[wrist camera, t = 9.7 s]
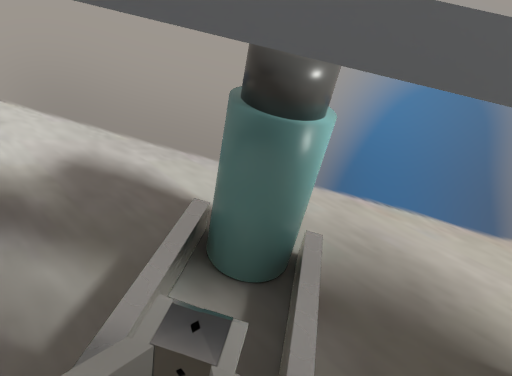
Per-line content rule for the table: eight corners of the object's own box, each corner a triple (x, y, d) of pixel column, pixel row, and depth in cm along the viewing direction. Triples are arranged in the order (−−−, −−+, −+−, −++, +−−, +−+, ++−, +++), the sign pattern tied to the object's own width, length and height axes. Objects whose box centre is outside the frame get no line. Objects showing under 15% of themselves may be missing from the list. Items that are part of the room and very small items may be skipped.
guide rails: (312, 260, 25) (322, 235, 23) (290, 503, 13) (307, 479, 12) (191, 224, 25) (194, 198, 24) (63, 422, 14) (55, 391, 12)
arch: (554, 391, 19) (911, 112, 10) (600, 475, 16) (1189, 168, 7) (-42, 206, 22) (-158, -127, 14) (-110, 244, 19) (-324, -169, 10)
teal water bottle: (293, 236, 26) (352, 55, 19) (282, 293, 21) (357, 75, 14) (221, 215, 27) (252, 31, 20) (193, 266, 22) (222, 42, 15)
